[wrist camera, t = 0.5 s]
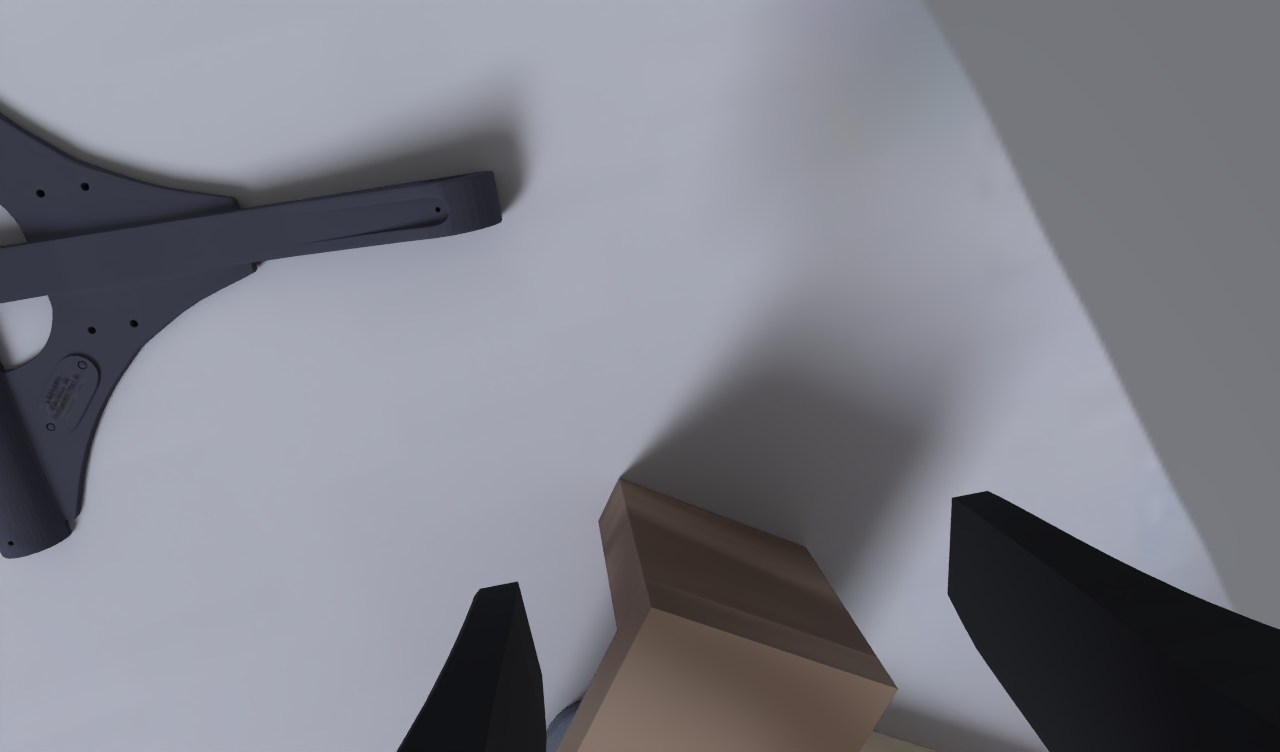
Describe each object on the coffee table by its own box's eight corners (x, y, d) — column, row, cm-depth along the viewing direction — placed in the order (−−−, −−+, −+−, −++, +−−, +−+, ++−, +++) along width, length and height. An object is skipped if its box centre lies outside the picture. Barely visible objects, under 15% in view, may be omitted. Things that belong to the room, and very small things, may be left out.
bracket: (546, 438, 24) (549, 476, 21) (24, 534, 23) (-43, 587, 20) (439, -109, 19) (425, -147, 17) (-216, -25, 18) (-342, -52, 16)
